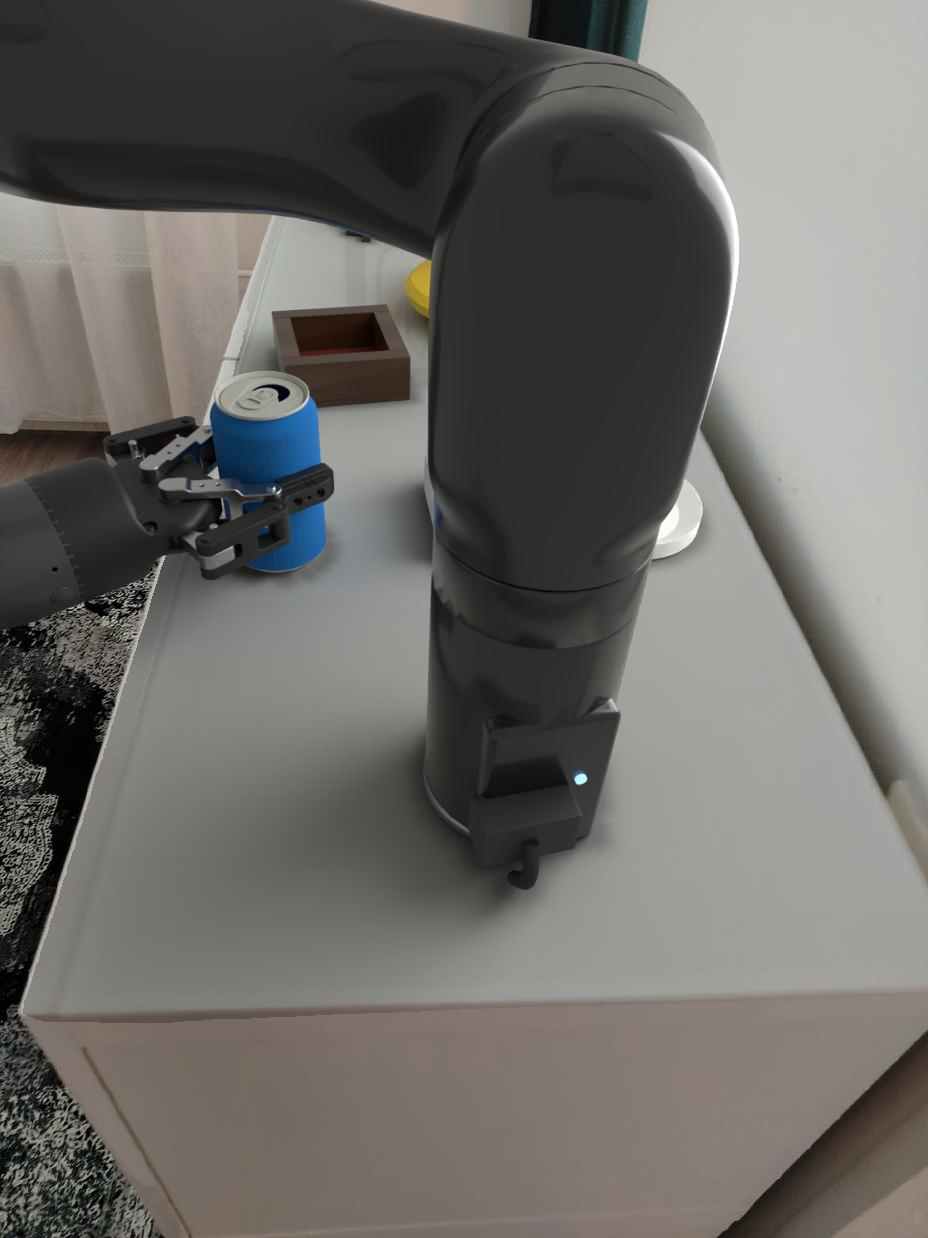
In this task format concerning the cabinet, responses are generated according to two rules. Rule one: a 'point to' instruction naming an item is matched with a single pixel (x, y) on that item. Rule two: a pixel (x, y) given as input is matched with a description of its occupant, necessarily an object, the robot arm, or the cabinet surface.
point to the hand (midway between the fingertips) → (300, 452)
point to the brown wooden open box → (343, 353)
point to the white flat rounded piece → (673, 529)
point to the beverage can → (270, 452)
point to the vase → (419, 287)
